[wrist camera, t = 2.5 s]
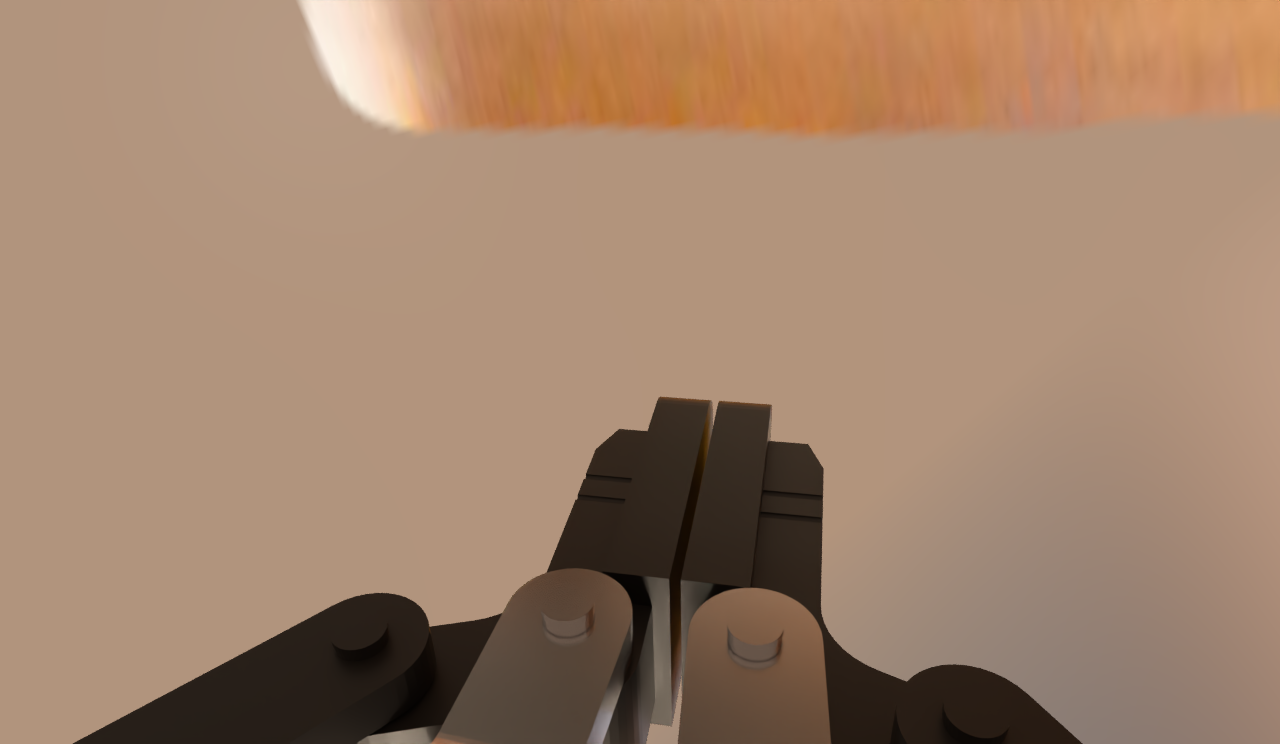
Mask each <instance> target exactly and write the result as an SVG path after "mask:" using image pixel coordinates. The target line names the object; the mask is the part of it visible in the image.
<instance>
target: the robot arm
mask: <svg viewBox="0 0 1280 744" xmlns="http://www.w3.org/2000/svg"><path fill="white" fill-rule="evenodd" d="M771 416H772V405H767V404H753V403H740V402H725V401H719V403H718V407H717V412H716V416H715V421H714V426H713V407H712V401H710V400H696V399H683V398H669V397H659V399H658V401H657V404H656V407H655V410H654V413H653V416H652V419H651V422H650V425H649V429H648V431H637V430H624V429H619V430H618V431H616V432H615V433H614V434H613V435H612V436H611V437H609V438H608V439H607V440H606V441H605V442H604V443H603V444H601V445H600V446H599V447H598V448H597V449H596V450H595V453H594V455H593V458H592V461H591V463H590V465H589V468H588V470H587V473H586V479H584V480H583V483H582V486H581V488H580V491H579V493H578V499H577V500H575V503H574V505H573V508H572V510H571V513H570V515H569V518H568V520H567V523H566V525H565V528H564V531H563V533H562V535H561V538H560V540H559V543H558V545H557V548H556V550H555V553H554V555H553V558H552V560H551V563H550V566H549V568H548V571H547V573H545V574H542V575H540V576H537V577H536V578H534V579H532V580H530V581H528V582H527V583H526V584H524V585H523V586H522V587H521V588H519V589H518V590H517V591H516V593H515V594H514V595H513V596H512V598H511V599H510V601H509V602H508V604H507V606H506V608H505V610H504V611H503V613H501V614H499V615H496V616H492V617H489V618H485V619H480V620H475V621H468V622H460V623H454V624H446V625H439V626H432V627H429V622H428V619H427V617H426V614H425V613H424V611H423V610H422V608H421V607H420V606H419V605H417V604H416V603H415V602H413V601H412V600H410V599H408V598H406V597H403V596H400V595H395V594H389V593H374V594H365V595H360V596H356V597H353V598H350V599H347V600H344V601H342V602H340V603H337V604H335V605H333V606H331V607H329V608H327V609H325V610H324V611H322V612H320V613H318V614H316V615H314V616H312V617H311V618H309V619H307V620H305V621H303V622H301V623H299V624H297V625H296V626H294V627H292V628H290V629H288V630H286V631H284V632H282V633H280V634H278V635H277V636H275V637H273V638H271V639H269V640H267V641H265V642H263V643H262V644H260V645H258V646H256V647H254V648H252V649H250V650H248V651H247V652H245V653H243V654H241V655H239V656H237V657H235V658H233V659H231V660H229V661H228V662H226V663H224V664H222V665H220V666H218V667H216V668H214V669H212V670H210V671H209V672H207V673H205V674H203V675H201V676H199V677H197V678H195V679H194V680H192V681H190V682H188V683H186V684H184V685H182V686H180V687H178V688H177V689H175V690H173V691H171V692H169V693H167V694H165V695H163V696H162V697H160V698H158V699H156V700H154V701H152V702H150V703H148V704H146V705H145V706H143V707H141V708H139V709H137V710H135V711H133V712H131V713H130V714H128V715H126V716H124V717H122V718H120V719H119V720H116V721H115V722H112V723H111V724H109V725H107V726H105V727H103V728H101V729H99V730H97V731H96V732H94V733H92V734H90V735H88V736H86V737H84V738H82V739H80V740H79V741H77V742H75V743H73V744H646V741H647V736H648V732H649V727H650V723H652V724H659V725H666V726H672V723H673V718H674V713H675V708H676V702H677V697H678V691H679V686H680V681H681V676H682V704H681V714H680V725H679V735H678V744H1082V743H1081V742H1080V741H1079V740H1078V739H1077V738H1076V737H1074V736H1073V735H1072V734H1071V733H1070V732H1069V731H1068V730H1067V729H1066V728H1064V727H1063V726H1062V725H1061V724H1060V723H1059V722H1058V721H1057V720H1056V719H1055V718H1053V717H1052V716H1051V715H1050V714H1049V713H1048V712H1047V711H1046V710H1045V709H1043V708H1042V707H1041V706H1040V705H1039V704H1038V703H1037V702H1036V701H1035V700H1034V699H1033V698H1031V697H1030V696H1029V695H1028V694H1027V693H1026V692H1024V691H1023V690H1022V689H1020V688H1019V687H1018V686H1017V685H1015V684H1013V683H1012V682H1010V681H1009V680H1007V679H1005V678H1003V677H1001V676H999V675H997V674H995V673H992V672H990V671H987V670H983V669H981V668H976V667H972V666H967V665H940V666H936V667H931V668H928V669H926V670H923V671H921V672H919V673H918V674H916V675H914V676H913V677H912V678H911V679H910V680H908V681H907V682H906V681H903V680H901V679H898V678H896V677H893V676H891V675H888V674H886V673H883V672H881V671H878V670H876V669H874V668H871V667H869V666H867V665H865V664H863V663H862V662H860V661H859V660H857V659H855V658H854V657H852V656H851V655H850V654H848V653H847V652H846V651H845V650H843V649H842V647H841V646H840V645H839V644H837V642H836V641H835V640H834V639H833V637H832V636H831V635H830V633H829V632H828V630H827V628H826V626H825V624H824V621H823V617H822V614H821V564H822V518H823V467H822V466H821V464H820V462H819V461H818V459H817V458H816V456H815V454H814V453H813V451H812V450H811V448H810V447H809V445H808V444H799V443H786V442H774V441H770V437H771Z"/></svg>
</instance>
